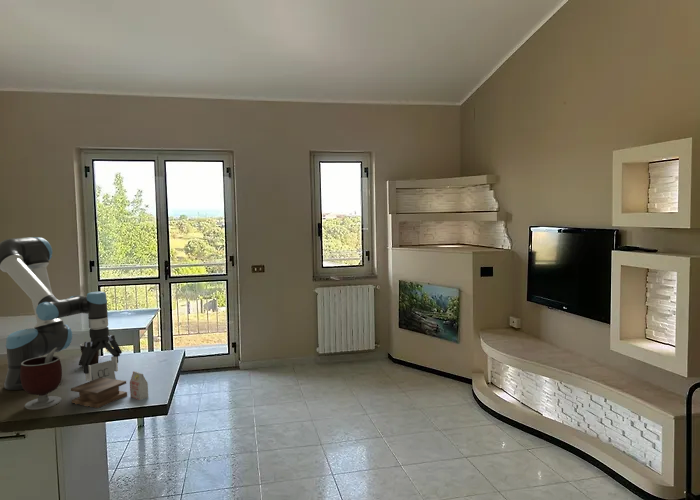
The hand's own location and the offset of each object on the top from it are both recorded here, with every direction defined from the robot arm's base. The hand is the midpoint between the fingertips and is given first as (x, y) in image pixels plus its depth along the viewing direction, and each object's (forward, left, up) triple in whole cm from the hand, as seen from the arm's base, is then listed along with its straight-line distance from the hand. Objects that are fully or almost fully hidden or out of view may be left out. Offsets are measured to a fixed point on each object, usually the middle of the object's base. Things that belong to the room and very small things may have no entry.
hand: (102, 375), depth 222 cm
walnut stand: (+16, -15, -3) cm, 22 cm away
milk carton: (+29, -7, -4) cm, 30 cm away
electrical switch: (0, 0, -4) cm, 4 cm away
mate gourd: (-2, -25, -3) cm, 25 cm away
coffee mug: (-29, +18, -3) cm, 35 cm away
